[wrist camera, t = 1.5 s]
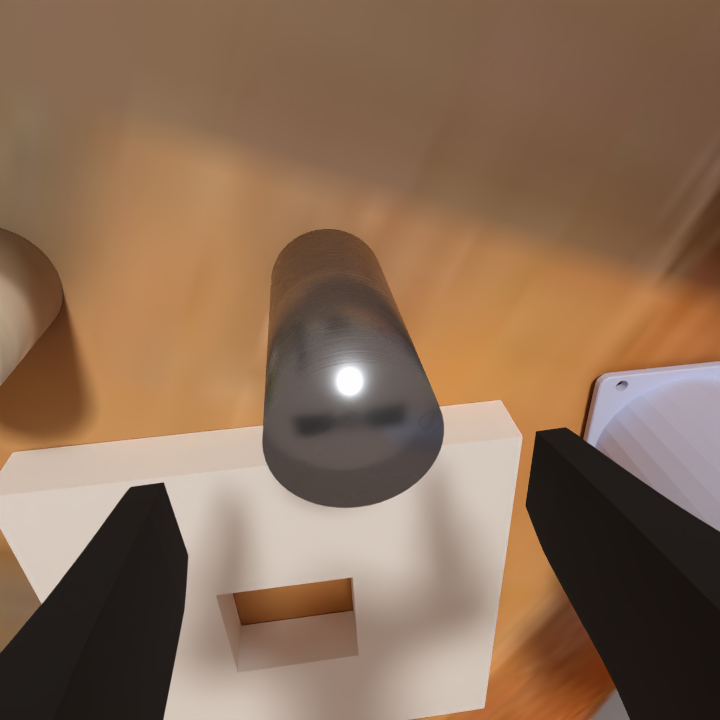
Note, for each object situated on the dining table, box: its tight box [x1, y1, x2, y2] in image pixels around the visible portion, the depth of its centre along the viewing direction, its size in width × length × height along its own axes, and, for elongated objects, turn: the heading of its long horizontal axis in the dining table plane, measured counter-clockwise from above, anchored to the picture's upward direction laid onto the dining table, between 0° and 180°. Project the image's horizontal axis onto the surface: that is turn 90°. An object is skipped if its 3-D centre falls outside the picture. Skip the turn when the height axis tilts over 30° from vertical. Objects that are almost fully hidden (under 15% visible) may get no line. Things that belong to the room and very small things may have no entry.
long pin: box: [262, 229, 444, 508], centre depth 16 cm, size 4×4×9 cm
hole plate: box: [0, 400, 523, 720], centre depth 26 cm, size 20×20×2 cm
